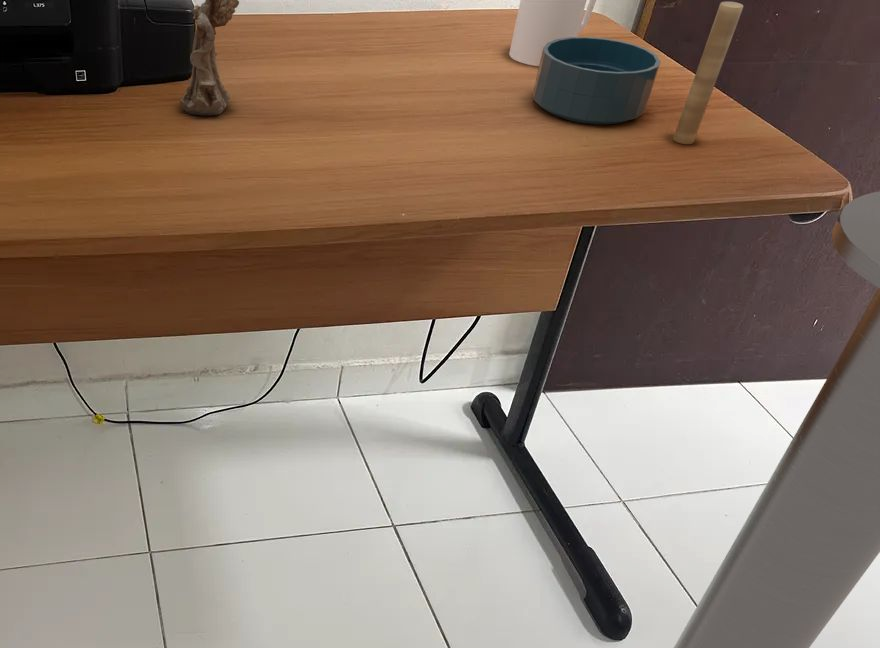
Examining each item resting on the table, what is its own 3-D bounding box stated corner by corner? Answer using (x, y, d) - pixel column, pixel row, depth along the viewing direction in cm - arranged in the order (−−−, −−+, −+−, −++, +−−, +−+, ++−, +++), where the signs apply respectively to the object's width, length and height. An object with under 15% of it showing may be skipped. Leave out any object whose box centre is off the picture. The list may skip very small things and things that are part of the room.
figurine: (189, 94, 108) (187, -47, 98) (238, 98, 107) (241, -43, 97) (176, 117, 103) (173, -30, 92) (228, 121, 102) (230, -26, 92)
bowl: (663, 125, 104) (681, 71, 100) (558, 129, 102) (572, 74, 98) (612, 86, 113) (627, 35, 109) (515, 89, 112) (526, 38, 108)
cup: (604, 57, 122) (627, -25, 115) (538, 70, 117) (558, -15, 110) (561, 40, 127) (581, -40, 120) (496, 52, 122) (513, -31, 116)
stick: (697, 144, 100) (748, 7, 91) (679, 144, 100) (728, 7, 90) (687, 136, 102) (735, 1, 92) (669, 137, 101) (716, 1, 92)
